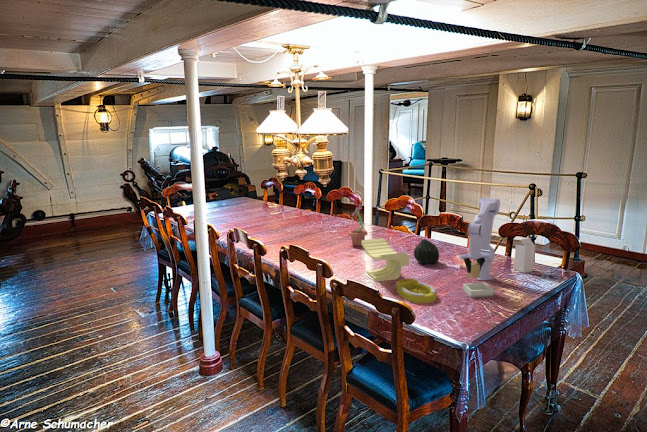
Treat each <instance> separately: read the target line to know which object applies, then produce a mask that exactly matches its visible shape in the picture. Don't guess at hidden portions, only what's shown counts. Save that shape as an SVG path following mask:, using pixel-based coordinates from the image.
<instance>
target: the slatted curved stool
mask: <svg viewBox="0 0 647 432" xmlns="http://www.w3.org/2000/svg"><path fill="white" fill-rule="evenodd" d="M361 247H362V248H363V249H364V252H366V255H368V256H369V257H370V258H372V260H374V261H385V266H384V267H382V268H379V269H374V270H373V269H372V270H368V271H366V275H367V274H368V275H369V276H370V277H371V278H370V277H369V276H368V275H367V276H368V277H369V278H370V279H372V278H373V279H372V281H374V282H375V281H377V282H382V281H384V282H385V281H391V280H392V281H393V280H398V279H399V278H400V276H401V273H402V267H408V266H410V256H409V254H408V253H407V252H398V253H397V251H395V250H394V249H392V247H391V246H390V245H389V243H388V241H387V240H386V239H384V238H373V239H371V238H370V239H365V240H361Z"/></svg>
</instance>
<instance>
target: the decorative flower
mask: <svg viewBox="0 0 647 432" xmlns="http://www.w3.org/2000/svg"><path fill="white" fill-rule="evenodd" d="M362 209H363V205H362V203H359V205H358V206H357V207H356V208H355V210H354V211H353V212H352V213H351V217H355V215H357V217H358V218H357V219H356V223H358V222H359V228H358V229H351V230H349V231H348V232H347V234H348V236H349V237H351V244H352V245H353V246H357V247H358V246H359V247H360V246H361V247H362V245H361V240H366V238H365V237H366V236H367V235H369V234H368V231H367V230H365V229H364V226H363V225H365V222H363V218H362V216H361V214H360V213H361V211H360V210H362Z"/></svg>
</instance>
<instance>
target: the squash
mask: <svg viewBox="0 0 647 432" xmlns="http://www.w3.org/2000/svg"><path fill="white" fill-rule="evenodd" d="M413 256H414V258H415V260H416V261H417V262H418V263H420V264H423V265H425V264H428V263H429V264H436V263H437V262H438V261H439V258H440V252H439V248H438V247H437V246H436V244H434V243H432V242H431V241H430V240H428V239H425V238H424V239H422V240H421V241H420V242H419V243H418V244H417V245H416V246H415V248H414V250H413Z"/></svg>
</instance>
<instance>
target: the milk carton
mask: <svg viewBox="0 0 647 432" xmlns="http://www.w3.org/2000/svg"><path fill="white" fill-rule="evenodd" d="M514 248H515V250H514V251H515V252H514V262H513V270H515V271H517V272H518V271H519V272H521V273H523V274H525V273H529V272H530V273H531V272H533V271H534V263H535V262H534V261H535V251H536V245H535V244H534V243H533V241H532V238H531V237H526V238H521V239H520V241H519V242H517V243H516V244H515V247H514Z"/></svg>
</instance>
